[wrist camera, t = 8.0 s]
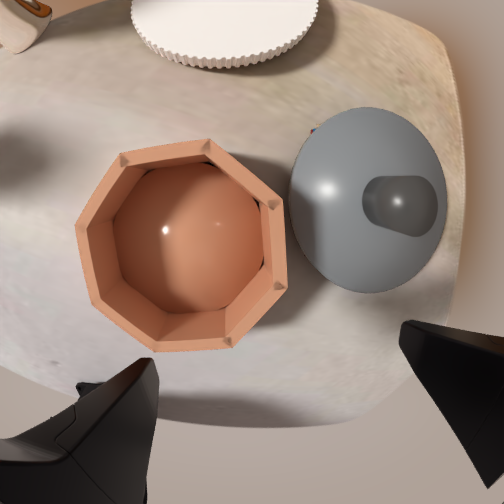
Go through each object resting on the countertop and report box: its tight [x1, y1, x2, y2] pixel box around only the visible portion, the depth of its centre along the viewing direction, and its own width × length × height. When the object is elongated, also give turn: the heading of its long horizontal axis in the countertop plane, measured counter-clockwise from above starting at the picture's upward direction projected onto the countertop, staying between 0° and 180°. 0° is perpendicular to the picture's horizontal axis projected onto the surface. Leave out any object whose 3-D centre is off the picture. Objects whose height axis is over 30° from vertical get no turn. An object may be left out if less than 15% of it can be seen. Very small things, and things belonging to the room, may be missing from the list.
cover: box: [288, 107, 447, 293], centre depth 16 cm, size 14×14×5 cm
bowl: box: [75, 139, 288, 352], centre depth 17 cm, size 12×12×4 cm
